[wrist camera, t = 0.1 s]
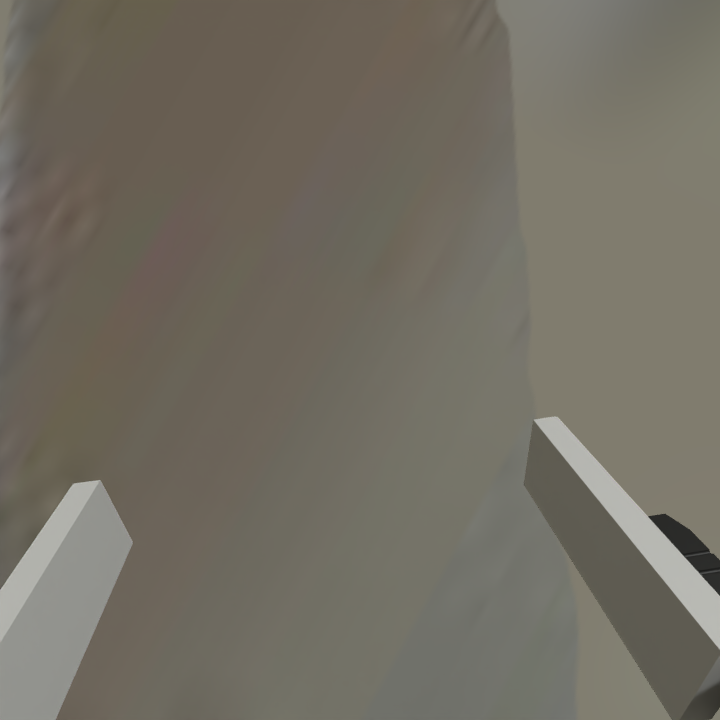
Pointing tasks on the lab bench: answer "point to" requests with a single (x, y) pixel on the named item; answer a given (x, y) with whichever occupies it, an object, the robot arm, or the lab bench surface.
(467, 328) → the lab bench surface
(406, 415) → the lab bench surface
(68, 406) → the lab bench surface
